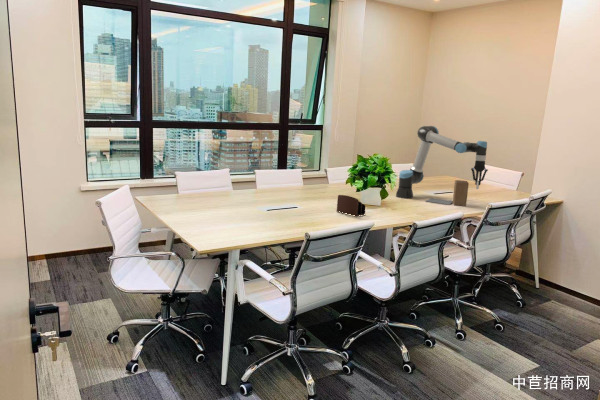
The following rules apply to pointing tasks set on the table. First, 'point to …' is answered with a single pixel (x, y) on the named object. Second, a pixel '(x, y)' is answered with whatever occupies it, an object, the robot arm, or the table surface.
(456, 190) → the wooden block
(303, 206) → the table surface
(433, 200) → the mat
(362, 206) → the letter holder
